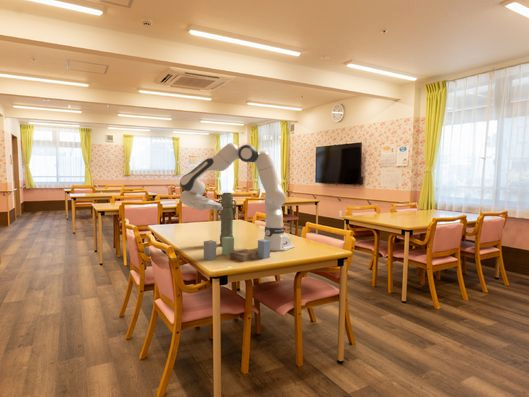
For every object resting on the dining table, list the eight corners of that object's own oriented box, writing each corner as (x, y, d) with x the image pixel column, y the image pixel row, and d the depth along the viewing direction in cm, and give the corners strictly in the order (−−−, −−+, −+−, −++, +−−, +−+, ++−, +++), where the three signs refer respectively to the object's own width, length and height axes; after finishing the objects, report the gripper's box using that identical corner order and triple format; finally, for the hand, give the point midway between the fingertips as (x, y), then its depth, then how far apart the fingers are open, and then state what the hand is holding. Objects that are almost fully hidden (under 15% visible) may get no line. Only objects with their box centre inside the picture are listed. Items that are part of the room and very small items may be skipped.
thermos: (236, 245, 230) (236, 193, 227) (218, 246, 228) (218, 193, 225) (234, 243, 239) (235, 192, 236) (217, 243, 236) (218, 192, 234)
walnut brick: (245, 255, 205) (245, 249, 205) (257, 258, 198) (257, 252, 198) (230, 259, 196) (230, 252, 195) (242, 262, 189) (243, 255, 189)
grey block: (210, 257, 198) (210, 240, 197) (216, 259, 194) (216, 241, 194) (203, 258, 194) (203, 241, 193) (209, 260, 191) (209, 242, 190)
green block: (228, 252, 210) (228, 236, 209) (233, 254, 207) (234, 237, 206) (221, 254, 206) (222, 237, 206) (227, 255, 203) (227, 238, 202)
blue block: (263, 256, 204) (263, 239, 203) (269, 257, 200) (270, 240, 200) (257, 257, 200) (257, 240, 199) (263, 259, 197) (264, 241, 196)
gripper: (189, 197, 207) (206, 202, 200) (212, 199, 225) (228, 204, 217) (187, 207, 208) (204, 213, 201) (210, 208, 225) (226, 213, 218)
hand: (217, 208), depth 209 cm, fingers open, 8 cm apart
